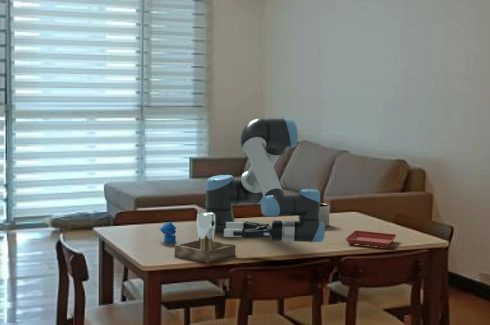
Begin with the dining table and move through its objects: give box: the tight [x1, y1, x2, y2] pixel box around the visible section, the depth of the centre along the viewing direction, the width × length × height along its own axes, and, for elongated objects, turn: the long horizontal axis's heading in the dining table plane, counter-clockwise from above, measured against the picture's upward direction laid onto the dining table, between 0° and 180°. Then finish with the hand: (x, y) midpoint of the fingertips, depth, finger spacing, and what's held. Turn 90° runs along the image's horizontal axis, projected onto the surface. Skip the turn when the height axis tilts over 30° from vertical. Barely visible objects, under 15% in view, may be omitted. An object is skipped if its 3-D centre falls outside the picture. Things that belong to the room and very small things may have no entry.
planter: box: [319, 202, 331, 228], centre depth 349 cm, size 11×11×10 cm
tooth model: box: [196, 211, 216, 251], centre depth 281 cm, size 7×7×15 cm
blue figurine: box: [159, 221, 177, 244], centre depth 304 cm, size 7×8×11 cm
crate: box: [174, 239, 236, 264], centre depth 282 cm, size 16×16×4 cm
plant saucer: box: [345, 230, 398, 249], centre depth 313 cm, size 18×18×3 cm
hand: (224, 229), depth 280 cm, fingers open, 13 cm apart
